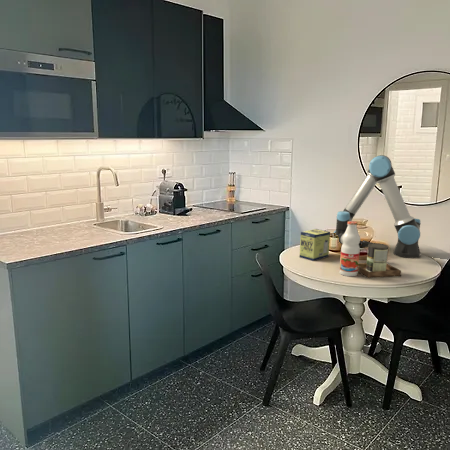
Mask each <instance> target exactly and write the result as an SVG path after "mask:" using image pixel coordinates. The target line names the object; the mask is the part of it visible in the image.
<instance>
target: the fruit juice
mask: <svg viewBox="0 0 450 450" xmlns="http://www.w3.org/2000/svg"><path fill="white" fill-rule="evenodd" d="M347 224H348V227H347V229H346V231H345V233H344V235H343V237H342V241H343V244H341V249H340V259H339V260H340V261H339V274H340V275H342V276H345V277H356V276H357V275H358V274H359V273H358V265H359V262H360V253H361V251H360V249H361V247H359V243H360V241H361V235H360V234H359V230H358V227H357V226H358V222H357V221H355V220H354V221H353V220H351V221H348V223H347Z"/></svg>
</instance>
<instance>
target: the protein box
mask: <svg viewBox="0 0 450 450" xmlns="http://www.w3.org/2000/svg"><path fill="white" fill-rule="evenodd" d="M330 237H331V231H328V230H323V229H318V228H314V229H309V230H304V231H300V241H299V258H300V259H301V258H302V259H304V260H309V261H312V262H315V261H318V260H321V259H325V258H328V257H329V256H330V241H331V240H330V239H331V238H330Z"/></svg>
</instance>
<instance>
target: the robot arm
mask: <svg viewBox="0 0 450 450" xmlns="http://www.w3.org/2000/svg"><path fill="white" fill-rule="evenodd" d="M392 165H393V164H392V161H391V158H390V157H388V156H387V155H383V154H381V155H377V156H375V157H373V158H372V159H371V160H370V161H369V164H368V170H367V171H366V172H367V174H366V176H365V178H364V179H363V180H362V182H361V183H360V185H359V187H358V188H357V190H356V191H355V192H354V194H353V195H352V197H351V198H350V200H349V202H348V203H347V205H346V206H345V207H344V209H343V210H341V211H338V212H337V214H336V215H337V216H336V227H335V230H334V231H333V233H336V235H338V237H339V242H340V243H339V242H338V243H339V244H341V245H342V244H343V241H342V237H343V235H344V233H345V231H346V229H347V227H348V224H347V223H348V221H353V219H354V218H355V216H356V214H357V213H358V212H359V209H361V207H362V206H363V204H364V202H365V201H366V200H367V198H368V196H369V195H370V194H371V192H372V191H373V189H374V188H375V186H376V185H377V184H379V187H380V188H381V189H380V190H381V191H382V193H383V195H384V198H385V200H386V203H387V205H388V207H389V210H390V211H391V214H392V217H393V219H394V222H395V223H394V224H393V226H394V228H395V231H396V233H397V243H396V245H395V247H394V249H393V255H394V256H398V257H401V258H405V259H407V258H408V259H414V258H415V259H417V258H420V257H421V251H420V247H419V239H420V238H421V229H420V228H421V219H419V218H415V217H414V216H411V214H410V213H409V210H408V208H407V205H406V202H405V200H404V198H403V196H402V193H401V192H400V189H399V186H398V184H397V182H396V180H395V176H396V172H395V170H394V167H393V166H392ZM370 243H373V242H371V241H368V240H360V243H359V247H360V248H368V244H370Z"/></svg>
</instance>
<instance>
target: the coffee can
mask: <svg viewBox="0 0 450 450" xmlns="http://www.w3.org/2000/svg"><path fill="white" fill-rule="evenodd" d="M389 248H390V247H389V245H387V244H386V243H385V244H384V243H378V242H372V243H370V244H368V247H367V254H366V263H367V265H366V270H367V271H369V272H375V271H386V264H388V263H387V262H388V254H389V253H388V252H389Z"/></svg>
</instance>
